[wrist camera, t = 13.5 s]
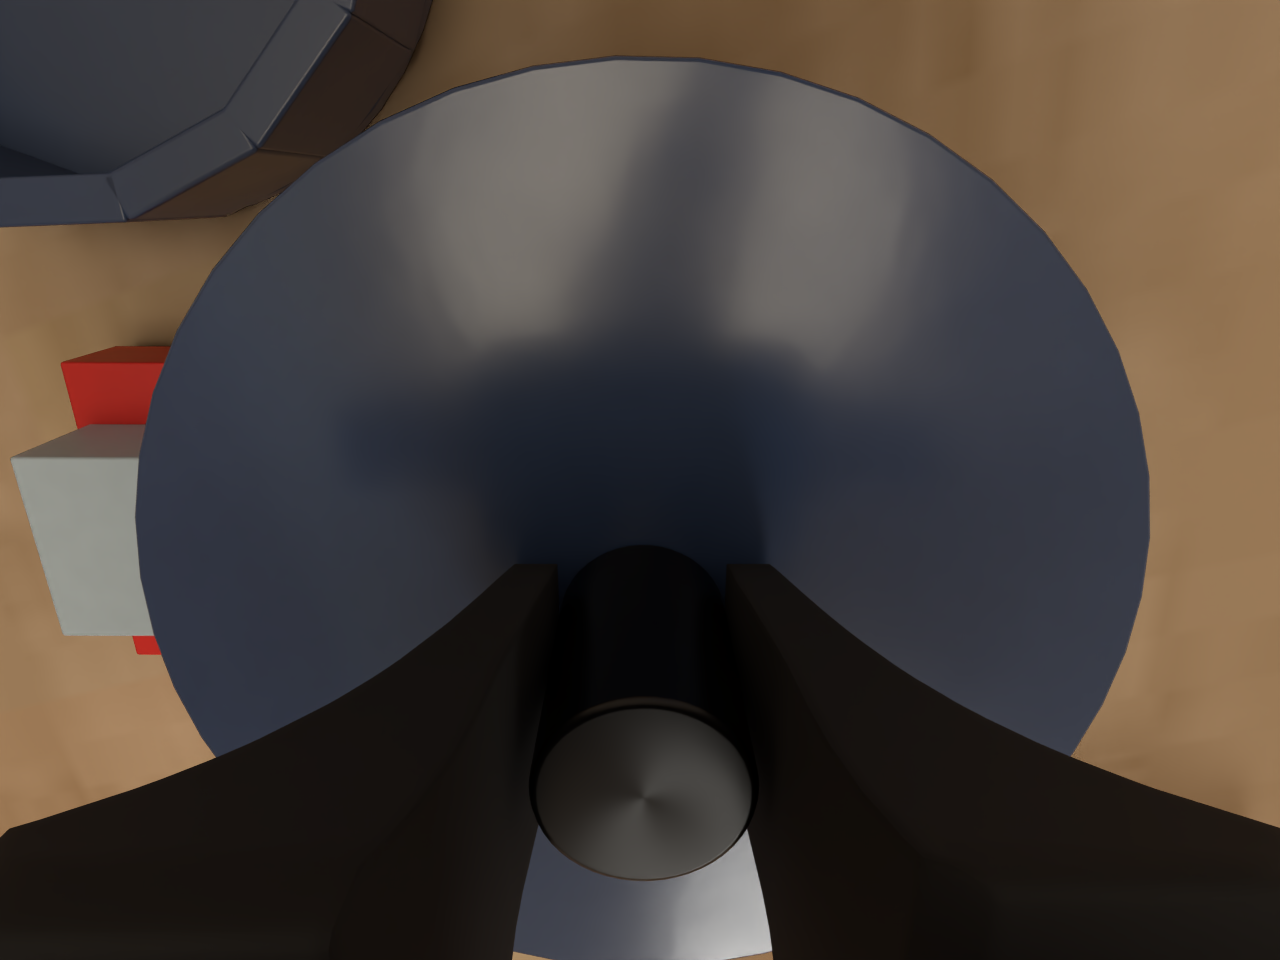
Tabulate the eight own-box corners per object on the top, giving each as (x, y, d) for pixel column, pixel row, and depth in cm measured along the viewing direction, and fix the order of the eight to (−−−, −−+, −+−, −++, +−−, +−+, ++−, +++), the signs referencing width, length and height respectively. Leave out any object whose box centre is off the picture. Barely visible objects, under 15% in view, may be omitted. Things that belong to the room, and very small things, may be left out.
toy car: (131, 340, 18) (-31, 387, 14) (302, 341, 18) (196, 389, 14) (192, 604, 20) (71, 714, 16) (342, 604, 20) (262, 715, 16)
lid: (270, -129, 9) (-87, -440, 5) (1309, 304, 11) (1776, 382, 6) (124, 795, 14) (-117, 1078, 9) (856, 988, 16) (941, 1301, 11)
